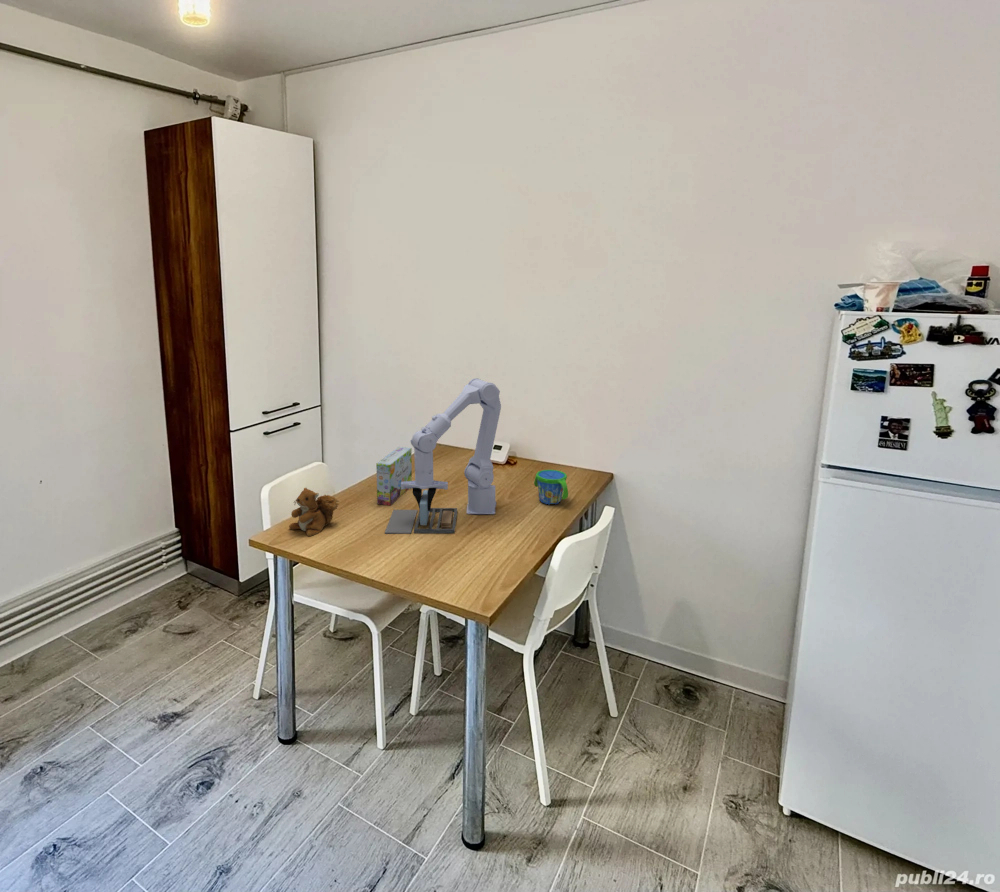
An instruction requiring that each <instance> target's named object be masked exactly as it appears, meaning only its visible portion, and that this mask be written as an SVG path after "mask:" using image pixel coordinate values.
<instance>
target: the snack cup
mask: <svg viewBox="0 0 1000 892" xmlns="http://www.w3.org/2000/svg"><path fill="white" fill-rule="evenodd" d="M534 477H535V478H534V481H533V485H534V487H536V488H537V490H538V499H539V502H540V501H541V503H543V504H546V505H547V504H548V505H550V504H555V505H558V504H560V503H559V502H561V501H562V500H566V499H568V497H569V488H568V484H567V482H566V481H567V478H568V475H567V473H566V472H564V471H561V470H557V469H542V470H539V471H537V472H536V474H535V476H534Z"/></svg>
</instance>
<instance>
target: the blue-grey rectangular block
mask: <svg viewBox="0 0 1000 892" xmlns="http://www.w3.org/2000/svg"><path fill="white" fill-rule="evenodd" d="M427 492H428V489H423V490H422V498H421V501H420V522H419V526H427V525H428V521H429V517H430V513H431V512H430V511H428V493H427Z"/></svg>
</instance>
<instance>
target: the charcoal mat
mask: <svg viewBox="0 0 1000 892" xmlns="http://www.w3.org/2000/svg"><path fill="white" fill-rule="evenodd" d="M418 512H419V509H393V510H392V513H391V515H390V518H389V520H388V523H387V525H386V528H385V531H384V534H386V535H388V534H389V535H391V534H392V535H397V534H398V535H404V534H405V535H408V534H410V535H411V534H412V531H413V529H414V526H415V522H416V521H415V520H416V519H417V518H416V516H417V515H418Z"/></svg>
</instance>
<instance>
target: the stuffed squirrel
mask: <svg viewBox="0 0 1000 892" xmlns="http://www.w3.org/2000/svg"><path fill="white" fill-rule="evenodd" d="M319 495H320V494H319V492H315V491H313V490H311V489H309V488H307V487H304V488H303V490H301V492H300V494H299V495H298V497H296V499H295V500H294V502H293V503H294V506H296V504H297V506H299V507H297V508H296V509H292V511H291V517H292V518H293V519H297V518H298V521H296V522H292V523H290V524H289V526H288V528H289V530H301V531H303V532H306V535H307V537H312V535H313V536H315V535H318V534H319V532H320V533H321V532H322V531H323V529H324V527H325V526H324V525H326V524H327V525H328V524H331V521H332V520H333V518H334V517H333V515H334V511H335V510H338V505H339V502H340V501H339V499H336V498H335V497H334V496H332V495H329V494H327V495H326V494H324V495H320V496H319ZM327 525H326V526H327Z"/></svg>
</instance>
